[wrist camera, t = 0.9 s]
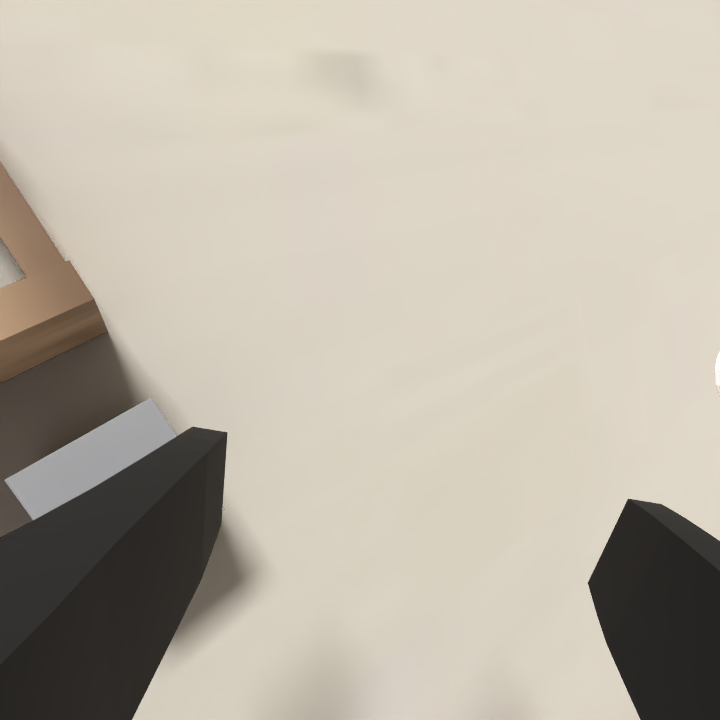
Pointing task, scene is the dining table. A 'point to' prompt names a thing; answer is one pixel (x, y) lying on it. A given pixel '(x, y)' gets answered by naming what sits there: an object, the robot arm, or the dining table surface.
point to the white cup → (717, 372)
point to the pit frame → (39, 292)
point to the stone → (91, 459)
